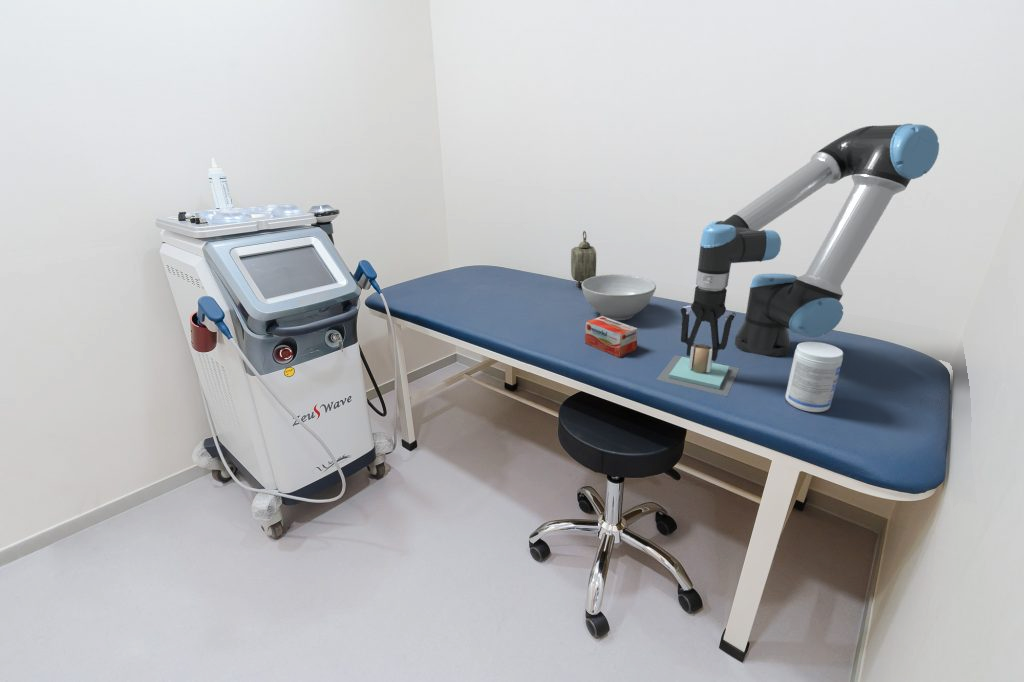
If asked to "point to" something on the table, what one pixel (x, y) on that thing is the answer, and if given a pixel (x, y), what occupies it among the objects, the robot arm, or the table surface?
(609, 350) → the medicine box
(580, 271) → the grey hanging weight
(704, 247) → the robot arm
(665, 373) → the mat
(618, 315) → the decorative bowl
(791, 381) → the supplement tub
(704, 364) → the lid
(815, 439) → the table surface
